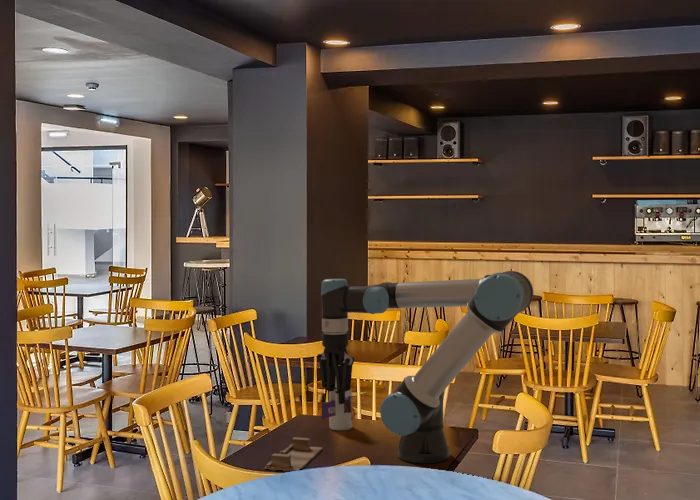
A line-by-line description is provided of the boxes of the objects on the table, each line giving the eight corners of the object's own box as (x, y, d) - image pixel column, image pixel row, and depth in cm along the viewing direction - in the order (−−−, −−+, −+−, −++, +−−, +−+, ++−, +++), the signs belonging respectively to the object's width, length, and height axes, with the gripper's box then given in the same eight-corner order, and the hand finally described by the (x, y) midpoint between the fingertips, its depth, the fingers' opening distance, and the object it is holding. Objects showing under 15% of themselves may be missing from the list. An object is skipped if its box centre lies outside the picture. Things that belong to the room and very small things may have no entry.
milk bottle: (350, 431, 252) (349, 370, 251) (327, 430, 253) (326, 370, 253) (354, 425, 260) (353, 366, 259) (331, 424, 261) (331, 366, 260)
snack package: (324, 420, 217) (323, 402, 217) (319, 419, 218) (319, 401, 218) (353, 413, 225) (352, 395, 225) (348, 412, 226) (348, 395, 226)
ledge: (291, 447, 235) (291, 435, 235) (322, 449, 232) (322, 437, 232) (264, 469, 213) (264, 456, 213) (298, 472, 211) (298, 459, 211)
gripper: (307, 331, 223) (309, 412, 224) (343, 336, 213) (345, 420, 213) (326, 329, 229) (328, 407, 229) (362, 333, 218) (364, 415, 219)
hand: (336, 413), depth 221 cm, fingers closed on snack package, 2 cm apart
